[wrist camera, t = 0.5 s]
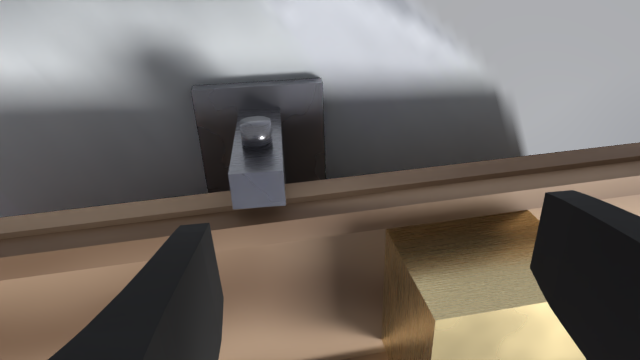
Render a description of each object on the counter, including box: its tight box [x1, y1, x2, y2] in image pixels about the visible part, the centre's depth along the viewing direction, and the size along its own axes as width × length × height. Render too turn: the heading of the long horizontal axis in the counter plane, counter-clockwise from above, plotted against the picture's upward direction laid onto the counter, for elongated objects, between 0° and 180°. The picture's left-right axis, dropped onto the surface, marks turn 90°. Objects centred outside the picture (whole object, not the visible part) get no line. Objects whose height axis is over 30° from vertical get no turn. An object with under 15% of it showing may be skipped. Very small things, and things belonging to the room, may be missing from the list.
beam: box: [0, 143, 640, 360], centre depth 17 cm, size 9×28×3 cm, turn 92°
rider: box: [382, 210, 587, 360], centre depth 17 cm, size 6×6×4 cm
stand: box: [191, 78, 326, 210], centre depth 19 cm, size 14×5×6 cm, turn 2°
